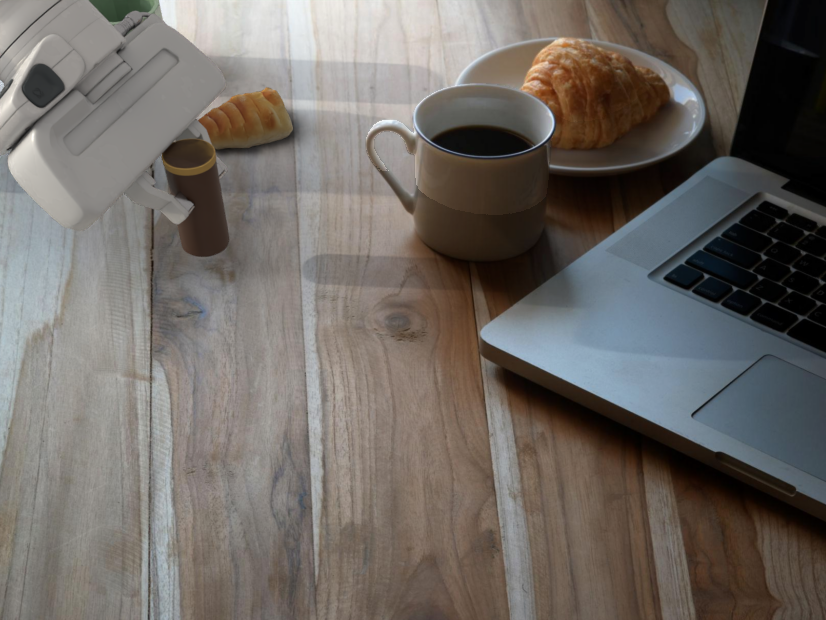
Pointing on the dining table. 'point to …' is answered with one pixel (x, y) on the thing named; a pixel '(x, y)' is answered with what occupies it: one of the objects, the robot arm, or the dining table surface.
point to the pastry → (248, 120)
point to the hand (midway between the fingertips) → (203, 197)
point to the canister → (125, 8)
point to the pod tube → (198, 195)
